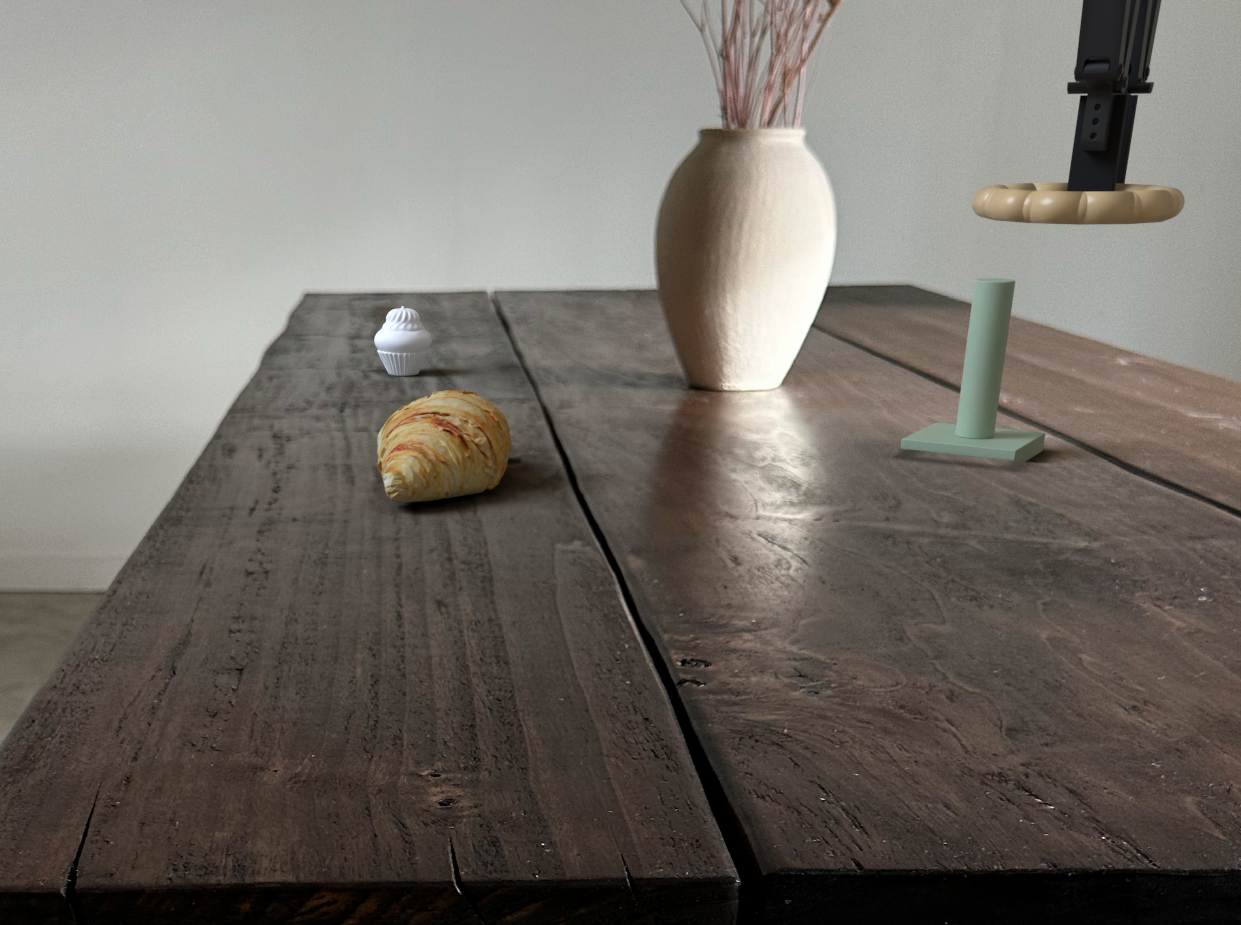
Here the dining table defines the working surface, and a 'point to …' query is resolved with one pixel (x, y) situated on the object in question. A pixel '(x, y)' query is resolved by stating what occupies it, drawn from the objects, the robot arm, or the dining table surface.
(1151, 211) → the ring
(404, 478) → the croissant
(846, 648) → the dining table surface
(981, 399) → the post
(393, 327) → the muffin
